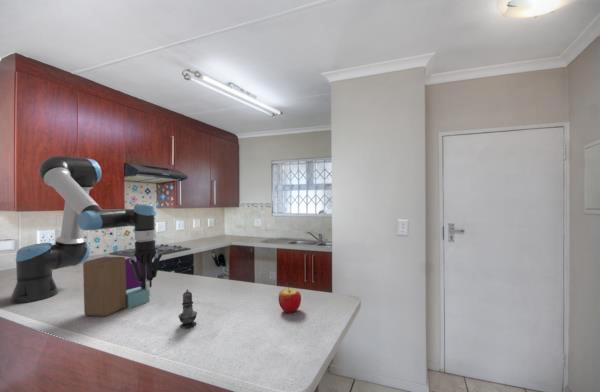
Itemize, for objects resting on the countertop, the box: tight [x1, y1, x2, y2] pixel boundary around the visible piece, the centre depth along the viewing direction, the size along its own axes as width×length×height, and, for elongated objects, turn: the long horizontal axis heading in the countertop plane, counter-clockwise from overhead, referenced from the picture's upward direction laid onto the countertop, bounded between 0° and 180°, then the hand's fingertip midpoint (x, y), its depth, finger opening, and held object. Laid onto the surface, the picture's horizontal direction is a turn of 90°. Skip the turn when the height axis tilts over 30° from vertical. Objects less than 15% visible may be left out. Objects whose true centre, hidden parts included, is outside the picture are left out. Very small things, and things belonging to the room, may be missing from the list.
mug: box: [125, 256, 147, 290], centre depth 134 cm, size 9×16×15 cm, turn 68°
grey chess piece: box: [177, 289, 198, 330], centre depth 94 cm, size 6×6×12 cm
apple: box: [278, 282, 302, 313], centre depth 104 cm, size 8×8×10 cm
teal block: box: [125, 287, 150, 309], centre depth 117 cm, size 8×8×5 cm
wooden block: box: [82, 256, 127, 317], centre depth 108 cm, size 10×10×20 cm
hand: (146, 295), depth 120 cm, fingers closed
